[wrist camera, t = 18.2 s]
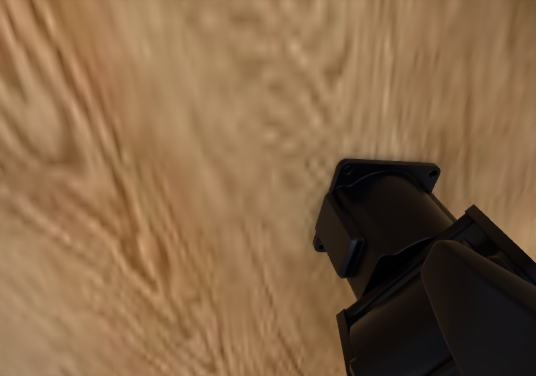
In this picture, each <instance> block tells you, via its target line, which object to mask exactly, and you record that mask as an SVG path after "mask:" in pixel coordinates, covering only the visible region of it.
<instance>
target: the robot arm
mask: <svg viewBox="0 0 536 376" xmlns="http://www.w3.org/2000/svg"><path fill="white" fill-rule="evenodd" d="M347 166H349V168H348V169H347V170H344V168H346V167H347ZM431 171H432V172H431ZM430 172H431V173H430ZM440 172H441V171H440V168H439V167H438V166H437V165H436V164H434V163H420V162H401V161H383V160H364V159H343V160H341V161H340V162H339V163H338V165H337V167H336V170H335V174H334V177H333V180H332V183H331V186H330V189H329V193H327V195H326V196H325V198H324V201H323V205H322V208H321V211H320V214H319V217H318V220H317V224H316V227H315V230H316V234H315V237H314V240H313V246H314V248H315V250H316V251H317V252H327V254H328V256H329V258H330V260H331V262H332V264H333V266H334V268H335V271H336V273H337V274H338V276H339V277H340V278H346V279H347V280H348V282H349V284H350V286H351V288H352V290H353V292H354V294H355V296H356V298H357V301H356V302H355V303H354V304H352V305H351V306H350V307H349V308H347V309H343V310H342V311H341V312H340V313H338V314H337V315H336V318H337V323H338V328H339V334H340V339H341V345H342V350H343V355H344V361H345V366H346V372H347V376H536V263H535V262H534V261H533V260H532V259H531V258H530V257H529V256H528V255H527V254H526V253H525V252H524V251H523V250H522V249H521V248H520V247H519V246H517V245H516V244H515V243H514V242H513V241H512V240H511V239H510V238H509V237H508V236H507V235H506V234H505V233H504V232H503V231H502V230H501V229H499V228H498V227H497V226H496V225H495V224H494V223H493V222H492V221H491V220H490V219H489V218H488V217H487V216H486V215H485V214H484V213H483V212H482V211H480V210H479V209H478V208H477V207H476V206H475V205H474V204H473V205H472V206H471V207H470V208H468V209H467V210H466V211H465V214H464V215H463V216H462V217H460V218H459V219H458V220H457V219H456V218H455V217H454V216H453V215H452V214H451V213H450V212H449V211H448V210H447V209H446V208H445V206H444V205H443V204H442V203H441V202H440V201H439V200H438V199H437V198H436V197H435V196H434V195H433V194H432V190H433V188H434V186H435V184H436V182H437V180H438V177H439V175H440ZM429 173H430V174H429ZM321 243H322V244H321ZM320 244H321V245H320Z"/></svg>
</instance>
